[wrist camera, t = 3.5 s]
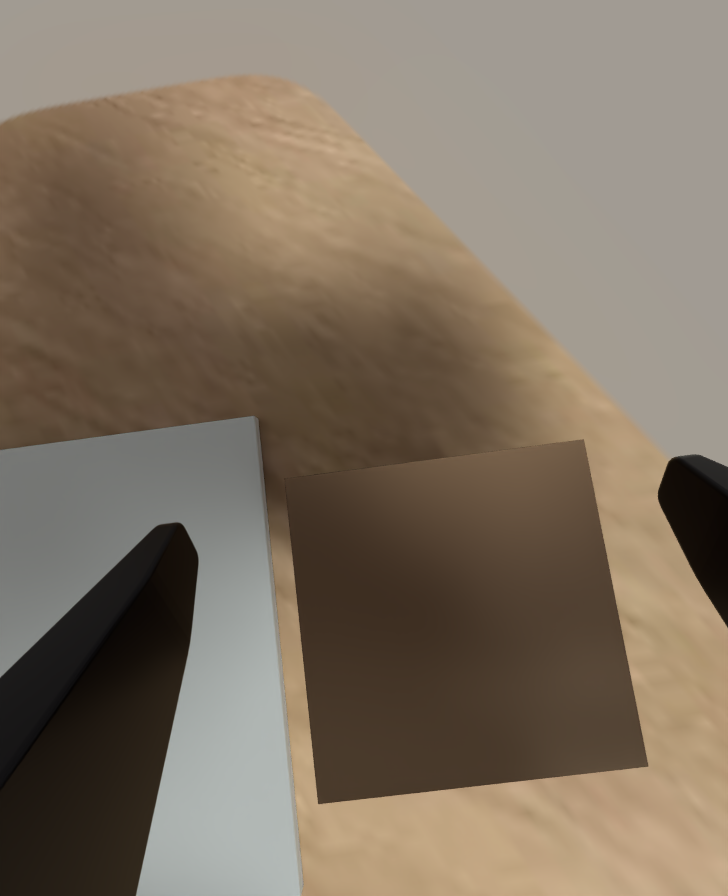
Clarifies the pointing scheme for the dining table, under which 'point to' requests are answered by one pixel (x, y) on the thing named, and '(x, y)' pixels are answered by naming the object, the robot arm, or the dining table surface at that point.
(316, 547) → the walnut block
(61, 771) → the robot arm
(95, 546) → the mat
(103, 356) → the dining table surface
